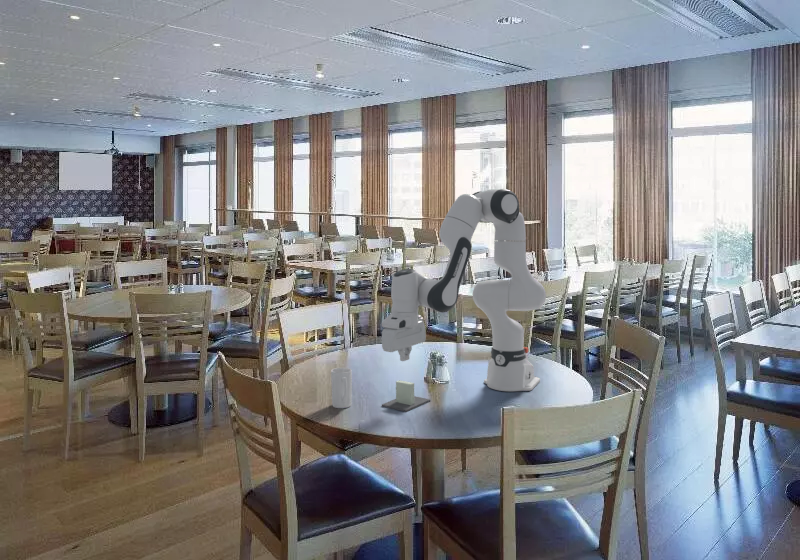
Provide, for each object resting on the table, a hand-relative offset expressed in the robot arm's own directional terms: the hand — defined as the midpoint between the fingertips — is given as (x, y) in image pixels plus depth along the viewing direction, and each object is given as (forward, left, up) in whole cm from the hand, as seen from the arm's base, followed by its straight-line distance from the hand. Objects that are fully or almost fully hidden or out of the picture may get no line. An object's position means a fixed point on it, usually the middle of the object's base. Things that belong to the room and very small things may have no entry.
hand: (404, 360), depth 228 cm
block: (0, 0, -14) cm, 15 cm away
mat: (-1, 0, -15) cm, 15 cm away
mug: (+14, -15, -15) cm, 26 cm away
